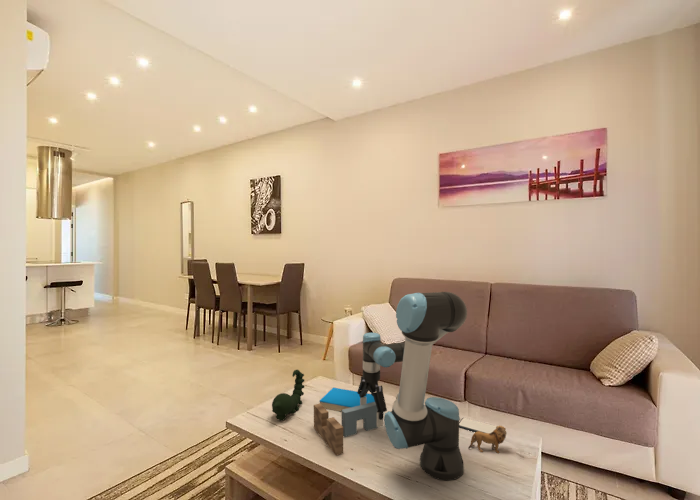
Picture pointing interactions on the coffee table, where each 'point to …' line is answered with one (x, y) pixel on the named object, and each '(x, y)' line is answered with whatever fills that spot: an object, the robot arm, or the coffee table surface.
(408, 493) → the coffee table surface
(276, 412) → the toy figurine
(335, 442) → the walnut board
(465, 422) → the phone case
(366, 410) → the slate plate
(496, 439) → the lion figurine
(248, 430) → the coffee table surface
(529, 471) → the coffee table surface
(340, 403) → the book
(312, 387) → the coffee table surface
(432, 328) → the robot arm
